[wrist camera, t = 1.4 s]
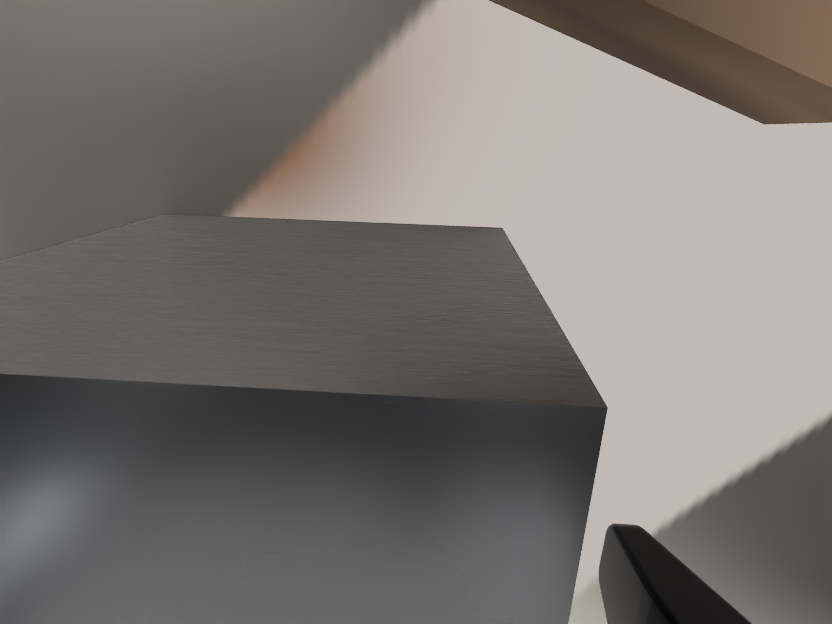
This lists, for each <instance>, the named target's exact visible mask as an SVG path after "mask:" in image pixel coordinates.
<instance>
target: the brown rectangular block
mask: <svg viewBox="0 0 832 624" xmlns="http://www.w3.org/2000/svg"><path fill="white" fill-rule="evenodd" d="M490 1H492V2H494V3H497V4H499V5H501V6H503V7H505V8H508V9H510V10H512V11H515V12H517V13H519V14H521V15H523V16H525V17H528V18H530V19H532V20H535V21H536V22H539V23H541V24H543V25H545V26H548V27H550V28H552V29H554V30H556V31H559V32H561V33H563V34H565V35H568V36H570V37H572V38H574V39H576V40H579V41H581V42H583V43H585V44H587V45H590V46H592V47H594V48H596V49H599V50H601V51H603V52H605V53H608V54H610V55H612V56H614V57H616V58H619V59H621V60H623V61H625V62H627V63H630V64H632V65H634V66H636V67H639V68H641V69H643V70H645V71H648V72H650V73H652V74H654V75H656V76H658V77H661V78H663V79H665V80H667V81H670V82H672V83H674V84H676V85H678V86H681V87H683V88H685V89H687V90H690V91H692V92H694V93H696V94H698V95H701V96H703V97H705V98H707V99H709V100H712V101H714V102H716V103H718V104H720V105H723V106H725V107H727V108H729V109H732V110H734V111H736V112H738V113H740V114H743V115H745V116H747V117H749V118H752V119H754V120H756V121H758V122H760V123H763V124H789V123H822V122H832V0H490Z"/></svg>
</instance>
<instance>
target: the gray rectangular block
mask: <svg viewBox="0 0 832 624" xmlns="http://www.w3.org/2000/svg"><path fill="white" fill-rule="evenodd" d="M606 413H607V406H606V405H605V402H604V401H603V399H602V397H601V396H600V394H599V392H598V391H597V389H596V387H595V386H594V384H593V382H592V380H591V379H590V377H589V375H588V374H587V372H586V370H585V368H584V367H583V365H582V363H581V362H580V360H579V358H578V356H577V355H576V353H575V351H574V350H573V348H572V346H571V344H570V343H569V341H568V339H567V338H566V336H565V334H564V333H563V331H562V329H561V328H560V326H559V324H558V322H557V321H556V319H555V317H554V315H553V314H552V312H551V310H550V309H549V307H548V305H547V304H546V302H545V300H544V299H543V297H542V295H541V293H540V292H539V290H538V288H537V287H536V285H535V283H534V281H533V280H532V278H531V276H530V275H529V273H528V271H527V269H526V268H525V266H524V264H523V263H522V261H521V259H520V258H519V256H518V254H517V252H516V251H515V249H514V247H513V246H512V244H511V242H510V241H509V239H508V237H507V235H506V234H505V232H504V230H503V229H502V228H491V227H465V226H442V225H440V226H439V225H417V224H393V223H368V222H343V221H319V220H295V219H293V220H292V219H269V218H242V217H220V216H195V215H171V214H162V215H158V216H155V217H151V218H148V219H144V220H141V221H137V222H134V223H130V224H127V225H123V226H119V227H116V228H112V229H109V230H105V231H102V232H98V233H95V234H91V235H88V236H84V237H81V238H77V239H74V240H70V241H67V242H63V243H60V244H56V245H53V246H49V247H46V248H42V249H39V250H35V251H31V252H28V253H24V254H21V255H17V256H14V257H10V258H7V259H3V260H0V624H568V620H569V615H570V610H571V604H572V599H573V593H574V588H575V582H576V576H577V571H578V566H579V560H580V555H581V550H582V544H583V538H584V533H585V528H586V522H587V517H588V511H589V506H590V500H591V495H592V489H593V484H594V478H595V473H596V468H597V462H598V457H599V451H600V446H601V440H602V435H603V430H604V424H605V418H606Z"/></svg>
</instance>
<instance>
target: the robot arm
mask: <svg viewBox="0 0 832 624" xmlns="http://www.w3.org/2000/svg"><path fill="white" fill-rule="evenodd" d="M599 583H600V588H601V593H602V598H603V603H604V608H605V613H606V617H607V622H608V624H752V623H750V622H749V621H748V620H747V619H746V618H745V617H744V616H742V615H741V614H740V613H739V612H738V611H737V610H736V609H734V608H733V607H732V606H731V605H730V604H729V603H728V602H726V601H725V600H724V599H723V598H722V597H721V596H720V595H718V594H717V593H716V592H715V591H714V590H713V589H712V588H710V587H709V586H708V585H707V584H706V583H705V582H704V581H702V580H701V579H700V578H699V577H698V576H697V575H696V574H694V573H693V572H692V571H691V570H690V569H689V568H688V567H686V566H685V565H684V564H683V563H682V562H681V561H680V560H678V559H677V558H676V557H675V556H674V555H673V554H672V553H670V552H669V551H668V550H667V549H666V548H665V547H664V546H662V545H661V544H660V543H659V542H658V541H657V540H656V539H654V538H653V537H652V536H651V535H650V534H649V533H648V532H646V531H645V530H644V529H643V528H641V527H640V526H637V525H627V524H612V525H610V526H609V527H608V529H607V531H606V536H605V541H604V546H603V551H602V556H601V561H600V566H599Z"/></svg>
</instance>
